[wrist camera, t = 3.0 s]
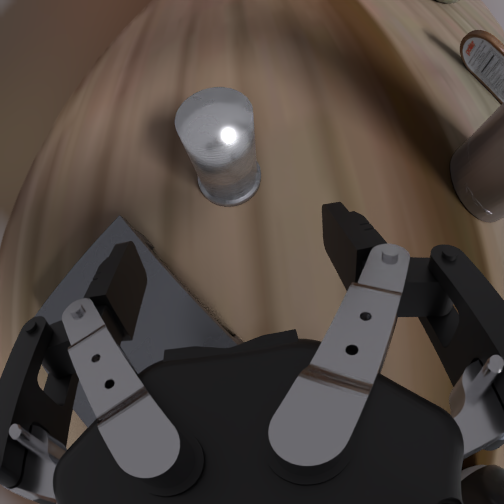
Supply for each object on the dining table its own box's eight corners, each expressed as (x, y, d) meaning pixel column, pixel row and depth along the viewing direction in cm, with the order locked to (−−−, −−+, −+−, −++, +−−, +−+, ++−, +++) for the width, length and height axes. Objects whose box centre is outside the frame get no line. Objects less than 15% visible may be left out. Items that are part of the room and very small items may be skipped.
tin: (522, 120, 28) (550, 93, 19) (518, 128, 27) (548, 100, 19) (456, 52, 30) (476, 19, 22) (449, 57, 30) (470, 21, 22)
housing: (230, 141, 27) (217, 73, 18) (273, 177, 26) (276, 112, 17) (187, 179, 27) (154, 120, 18) (228, 219, 26) (209, 168, 17)
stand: (143, 232, 26) (119, 215, 21) (253, 349, 24) (250, 357, 19) (55, 332, 24) (23, 332, 19) (145, 444, 22) (123, 465, 17)
